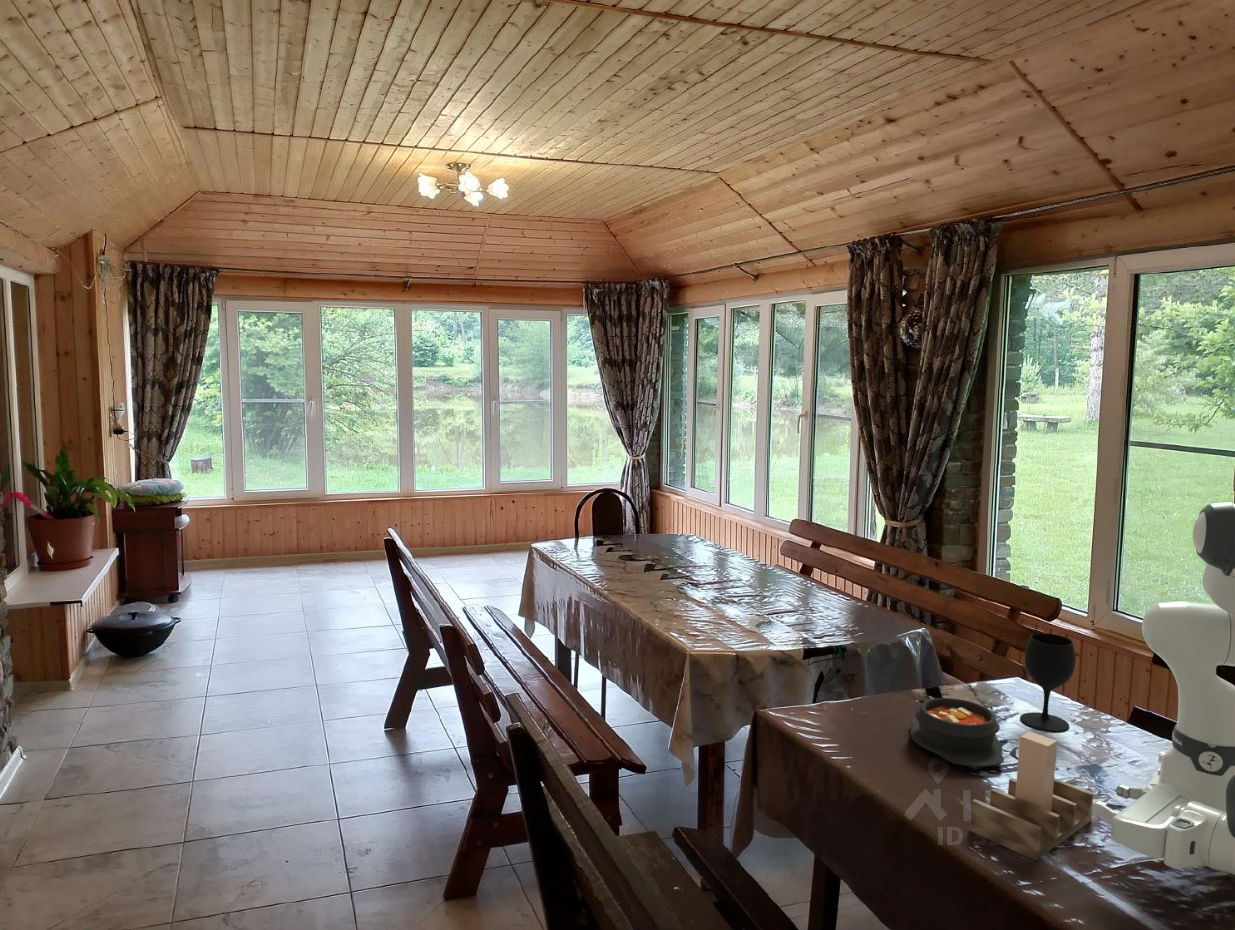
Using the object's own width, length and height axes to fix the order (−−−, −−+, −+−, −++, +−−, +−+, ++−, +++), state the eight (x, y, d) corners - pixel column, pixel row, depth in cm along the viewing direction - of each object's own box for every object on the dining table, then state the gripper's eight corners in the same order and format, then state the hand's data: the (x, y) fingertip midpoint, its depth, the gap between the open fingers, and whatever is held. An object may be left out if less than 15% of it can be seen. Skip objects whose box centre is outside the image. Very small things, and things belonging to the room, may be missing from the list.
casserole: (1026, 775, 183) (1029, 735, 182) (936, 776, 182) (939, 736, 181) (971, 723, 208) (973, 688, 206) (891, 724, 206) (893, 688, 205)
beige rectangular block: (1050, 820, 162) (1057, 740, 160) (1041, 826, 160) (1048, 746, 158) (1023, 808, 166) (1029, 731, 164) (1013, 814, 164) (1020, 736, 162)
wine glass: (1055, 713, 214) (1062, 632, 211) (1078, 732, 203) (1086, 647, 201) (1011, 713, 213) (1018, 631, 211) (1033, 732, 203) (1040, 646, 200)
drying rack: (1091, 820, 165) (1094, 792, 165) (1035, 860, 152) (1038, 829, 151) (1027, 794, 175) (1029, 767, 174) (969, 830, 161) (971, 801, 161)
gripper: (1223, 793, 148) (1133, 762, 159) (1175, 834, 135) (1080, 797, 146) (1219, 829, 149) (1130, 796, 160) (1171, 873, 136) (1077, 834, 147)
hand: (1106, 797), depth 153 cm, fingers open, 8 cm apart
